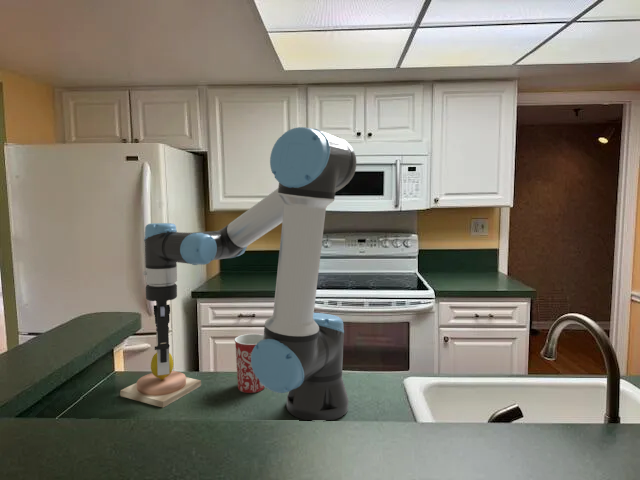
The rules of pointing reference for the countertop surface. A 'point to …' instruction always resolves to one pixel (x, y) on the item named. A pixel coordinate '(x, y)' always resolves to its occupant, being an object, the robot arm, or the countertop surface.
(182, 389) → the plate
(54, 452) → the countertop surface
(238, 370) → the mug
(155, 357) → the lemon
